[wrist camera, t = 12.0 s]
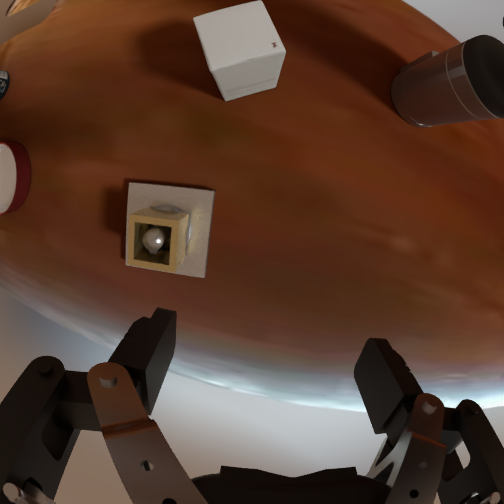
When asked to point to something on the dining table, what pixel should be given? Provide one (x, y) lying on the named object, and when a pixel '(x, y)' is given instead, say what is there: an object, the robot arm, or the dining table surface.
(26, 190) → the frying pan
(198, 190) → the shaft stand
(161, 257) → the box
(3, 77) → the beverage can
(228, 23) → the supplement box
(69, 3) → the dining table surface
